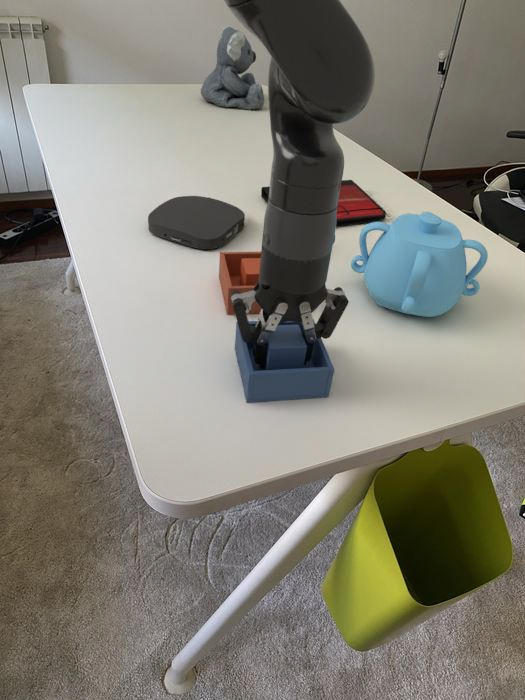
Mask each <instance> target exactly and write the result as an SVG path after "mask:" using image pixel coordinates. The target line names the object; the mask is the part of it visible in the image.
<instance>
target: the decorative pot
mask: <svg viewBox="0 0 525 700" xmlns="http://www.w3.org/2000/svg"><path fill="white" fill-rule="evenodd" d="M372 231H373V232H374V231H380V232H382V233H381V235H379V238H378V239H377V240H376V242H375V243H374V245H373V246H372V248H371V250H370V252H368V245H367V236H368V234H369V233H370V232H372ZM358 238H359V239H358V241H359V248H360V254H359V255H358V254H357V255H355V256H354V257H353V258H352V259H351V261H350V268H351V269H352V270H353V271H354V272H355V273H358V274H363V278H364V283H365V285H366V288H367V292H368V293H369V295H370V296H371V298H372V300H373V301H374V302H375V303H377V305H378V306H380V307H382V308H386V309H389V310H392V311H396V312H399V313H403V314H407V315H412V316H417V317H418V316H419V317H427V318H434V317H439V316H441V315H443V314H445V313H447V312H449V311H450V310H452V308H453V307H455V305H457V303H458V302H459V301H460V299H461V297H462V295H463V296H465V297H473V296H475V295H477V293H478V292H479V291H480V282H479V281H478V280H476V279H475V278H476V277H477V276H478V275H479V273H481V271H482V270H483V268H484V267H485V266H486V264H487V261H488V257H489V254H488V250H487V248H486V247H485V245H483V243H481V242H480V241H478V240H476V239H464V238H463V235H462V232H461V231H460V229H459V227H458V226H457V225H456V224H454V223H453V222H451V221H449V220H446V219H443V218H441V217H440V216H439V215H436V214H434V213H433V212H431V211H422V212H421V213H420V214H418V213H417V214H416V213H403V214H400V215H398V216H397V217H395V219H393V221H392V222H391V223H390V224H388V223H385V222H383V221H373V222H369V223H368V224H365V226H363V228H362V229H361V231H360V233H359V237H358ZM466 249H472V250H475V251H477V253H479V255H480V257H479V259H478V261H477V262H476V263H475V265H474V266H473V267H472V268H471V270H469V272H468V273H467V256H466ZM358 261H359V262H360V261H361V262H362V264H358V263H357V262H358ZM469 285H470V286H473V287H471V288H469V287H468V286H469Z"/></svg>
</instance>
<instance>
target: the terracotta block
mask: <svg viewBox="0 0 525 700" xmlns="http://www.w3.org/2000/svg"><path fill="white" fill-rule="evenodd" d="M260 260H261V258H243V259H241V271H240V286H255V285H256V284H257V282H258V280H259V271H260Z"/></svg>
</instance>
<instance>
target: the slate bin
mask: <svg viewBox="0 0 525 700" xmlns="http://www.w3.org/2000/svg"><path fill="white" fill-rule="evenodd" d="M257 321H258V320H248V323H249V325H250V326H254V327H255V326H256V324H257ZM235 323H236V324H235V339H234V351H235V355H236V356H235V358H236V361H237V365H238V371H239V375H240V380H241V383H242V388H243V394H244V397H245V401H246V403H261V402H275V401H291V400H292V401H293V400H306V399H307V400H308V399H320V398H323V399H324V398H329V397H330V393H331V388H332V384H333V378H334V374H335V370H336V369H335V367H334V365H333V362H332V360H331V358H330V356H329V353H328V351H327V349H326V347H325V346H326V345H325V344H324V341H323V338H322V337H321V338H319V339H317V340H316V341H315V342H314V347H313V352H312V358H311V359H310V361H307V362H306V365H304V368H298V369H280V370H265V368H260V367H259V364H256V363H255V360H254V356H253V346H254V342H252V341H250V342H248V343H246V342H244V341H243V340H242V336H241V333H240V329H239V326H238V322H237V321H236V322H235ZM313 323H314V324H316V321H315V320H314V319H313ZM278 325H299V327H300V330H301V332H302V333H303V330H302V327H301V322H292V321H287V322H283V323H279V324H278Z"/></svg>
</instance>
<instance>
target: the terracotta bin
mask: <svg viewBox="0 0 525 700" xmlns="http://www.w3.org/2000/svg"><path fill="white" fill-rule="evenodd" d="M243 258H261V251H219V259H218V260H219V263H218V279H219V284H220V289H221V293H222V298H223V302H224V307H225V312H226V315H228V316H229V315H230V316H231V315H235V312H234V308H233V304H232V300H231V296H230V295H231V292H232V291H235V290H238V291H240V293H245V292H249V291H253V289H254V287H255V286H240V271H241V259H243ZM261 309H262V308H261V307H260V306H259V304H258V303H257V302H256V301H255V302H253V303H252V308H251V310H250V312H249V313H246V315H254V314H256V315H257V314H258V315H259V314H260V311H261Z"/></svg>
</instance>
